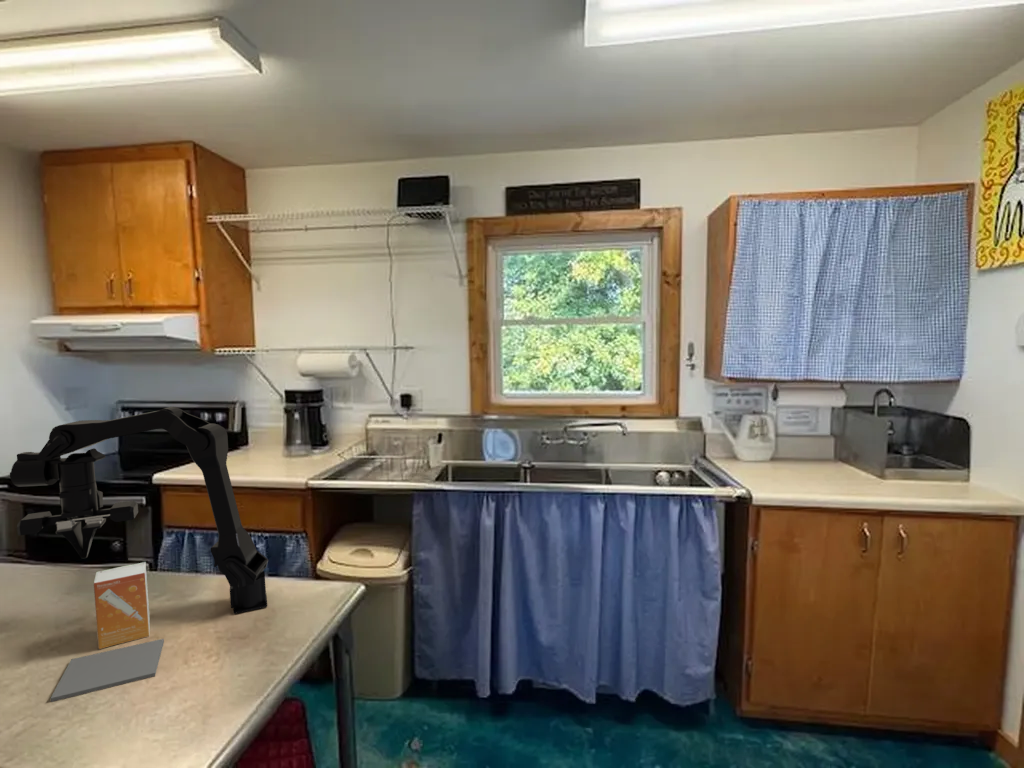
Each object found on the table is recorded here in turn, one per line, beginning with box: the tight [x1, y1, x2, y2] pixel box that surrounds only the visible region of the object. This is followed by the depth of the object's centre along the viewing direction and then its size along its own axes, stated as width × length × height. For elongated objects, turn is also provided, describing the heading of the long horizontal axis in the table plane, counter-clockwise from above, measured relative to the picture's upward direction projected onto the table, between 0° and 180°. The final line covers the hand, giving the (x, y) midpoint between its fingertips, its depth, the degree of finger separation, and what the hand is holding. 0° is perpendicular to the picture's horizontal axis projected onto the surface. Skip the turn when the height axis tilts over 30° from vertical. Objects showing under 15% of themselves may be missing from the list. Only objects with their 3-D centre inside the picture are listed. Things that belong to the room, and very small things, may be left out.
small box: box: [93, 561, 151, 650], centre depth 105 cm, size 8×6×13 cm
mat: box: [50, 638, 165, 703], centre depth 95 cm, size 14×12×1 cm
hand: (84, 557), depth 112 cm, fingers closed
